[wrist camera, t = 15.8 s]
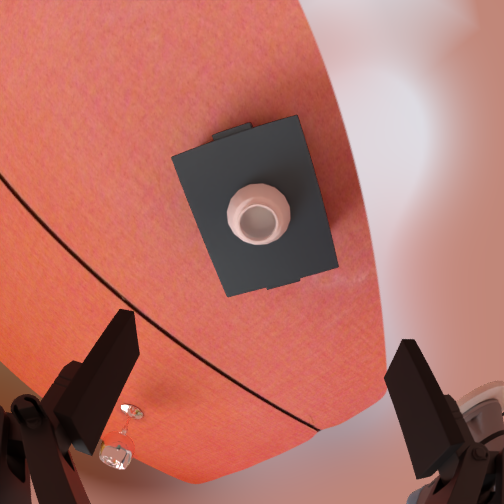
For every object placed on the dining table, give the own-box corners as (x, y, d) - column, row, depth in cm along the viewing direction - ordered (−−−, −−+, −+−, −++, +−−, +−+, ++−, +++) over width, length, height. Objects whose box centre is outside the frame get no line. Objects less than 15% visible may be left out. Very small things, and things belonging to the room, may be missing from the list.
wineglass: (121, 416, 49) (102, 465, 38) (114, 398, 47) (92, 449, 36) (148, 423, 49) (132, 474, 38) (143, 405, 47) (124, 459, 36)
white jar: (216, 215, 26) (261, 252, 27) (210, 227, 23) (261, 267, 24) (255, 170, 24) (302, 210, 25) (254, 176, 21) (306, 221, 22)
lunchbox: (326, 243, 34) (340, 272, 27) (235, 268, 35) (229, 302, 29) (289, 112, 28) (295, 108, 22) (189, 145, 30) (168, 151, 24)
